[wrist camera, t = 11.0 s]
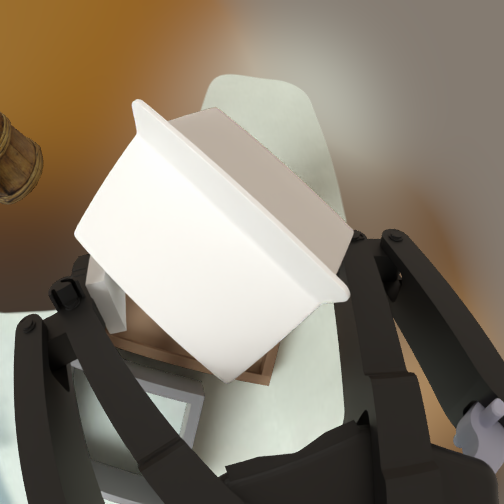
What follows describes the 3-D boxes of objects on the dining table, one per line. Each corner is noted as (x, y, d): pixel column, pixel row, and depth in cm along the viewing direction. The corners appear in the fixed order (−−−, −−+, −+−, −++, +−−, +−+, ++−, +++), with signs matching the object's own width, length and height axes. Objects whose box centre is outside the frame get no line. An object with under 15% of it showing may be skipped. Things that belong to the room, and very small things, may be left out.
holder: (57, 451, 25) (39, 472, 19) (71, 340, 28) (49, 345, 23) (176, 489, 27) (175, 517, 21) (201, 381, 31) (204, 396, 25)
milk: (200, 333, 26) (249, 437, 5) (149, 285, 26) (13, 200, 4) (247, 282, 27) (424, 200, 6) (197, 235, 27) (230, 32, 6)
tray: (85, 331, 29) (78, 333, 27) (127, 193, 33) (123, 185, 30) (262, 380, 32) (268, 385, 29) (295, 242, 36) (303, 237, 33)
